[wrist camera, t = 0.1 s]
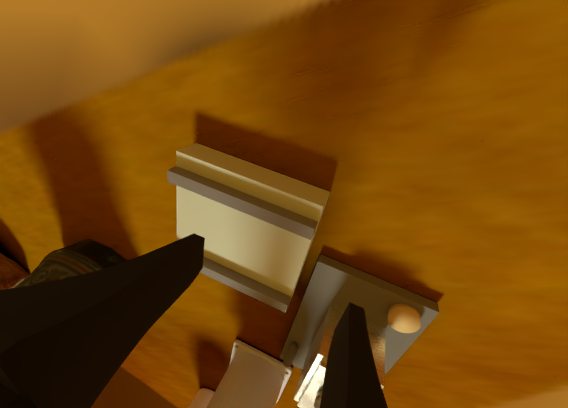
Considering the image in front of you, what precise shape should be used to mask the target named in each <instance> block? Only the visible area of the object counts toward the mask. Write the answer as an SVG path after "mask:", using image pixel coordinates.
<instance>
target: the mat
mask: <svg viewBox="0 0 568 408" xmlns="http://www.w3.org/2000/svg"><path fill="white" fill-rule="evenodd" d="M349 302H350V303H353V304H355V305H357V306H360V307H362V308H364V310H365V315H366V319H367V320H370V321H372V322H374V323H376V324H378V325H381V326H383V327H385V328H386V337H385V374H386V373H387V372H388V371H389V370H390V368H391V367H392V366H393V365H394V364H395V363H396V362H397V360H398V359H399V358H400V357H401V356H402V355H403V354H404V352H405V351H406V350H407V349H408V348H409V347H410V346H411V344H412V343H413V342H414V341H415V340H416V339H417V338H418V336H419V335H420V334H421V333H422V332H423V331H424V330H425V328H426V327H427V326H428V325H429V324H430V323H431V322H432V320H433V319H434V318H435V317H436V316H437V315H438V314H439V308H438V303H437V302H434V301H432V300H430V299H427V298H425V297H422V296H420V295H418V294H415V293H413V292H410V291H408V290H406V289H403V288H401V287H398V286H396V285H394V284H391V283H389V282H386V281H384V280H382V279H379V278H377V277H375V276H372V275H370V274H367V273H365V272H363V271H360V270H358V269H355V268H353V267H351V266H348V265H346V264H343V263H341V262H339V261H336V260H334V259H331V258H329V257H327V256H324V255H322V254H320V256H319V259H318V261H317V264H316V266H315V269H314V271H313V274H312V276H311V279H310V282H309V284H308V287H307V289H306V292H305V294H304V297H303V299H302V302H301V304H300V307H299V309H298V312H297V314H296V317H295V319H294V322H293V324H292V327H291V330H290V332H289V335H288V337H287V340H286V342H285V345H284V347H283V350H282V352H281V355H280V358H281V359H282V360H283V363H284V365H285V366H286V367H289V366H291V364H292V365H294V366H296V367H298V368H300V369H303V366H304V362H305V359H306V356H307V352H308V349H309V347H310V345H311V343H312V341H313V339H314V337H315V335H316V333H317V331H318V329H319V327H320V325H321V323H322V321H323V319H324V317H325V315H326V313H327V311H328V309H329V307H330V305H331V303H332V304H334V305H336V306H339V307H341V308H343V309H345V310H346V308H347V306H348V304H349Z"/></svg>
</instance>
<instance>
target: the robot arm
mask: <svg viewBox="0 0 568 408" xmlns="http://www.w3.org/2000/svg"><path fill="white" fill-rule="evenodd" d="M204 242H205V238H204V237H201V236H199V235H197V234H195V233H194V234H191V235H189V236H186V237H184V238H182V239H180V240H177V241H175V242H173V243H170V244H168V245H166V246H164V247H161V248H159V249H156V250H154V251H152V252H149V253H147V254H144V255H142V256H139V257H136V258H134V259H131V260H128V261H126V262H123V263H120V264H117V265H114V266H111V267H107V268H104V269H101V270H97V271H94V272H90V273H86V274H82V275H78V276H74V277H70V278H66V279H61V280H56V281H52V282H47V283H41V284H36V285H30V286H24V287H17V288H10V289H3V290H0V408H91V406H92V405H93V403H94V402H95V400H96V399H97V398H98V396H99V395H100V393H101V392H102V390H103V389H104V387H105V386H106V385H107V384H108V382H109V381H110V379H111V378H112V377H113V375H114V374H115V372H116V371H117V370H118V368H119V367H120V366H121V364H122V363H123V362H124V360H125V359H126V358H127V356H128V355H129V354H130V352H131V351H132V350H133V349H134V347H135V346H136V345H137V344H138V342H139V341H140V340H141V338H142V337H143V336H144V335H145V333H146V332H147V331H148V330H149V329H150V327H151V326H152V325H153V324H154V323H155V322H156V321H157V320H158V319H159V318H160V317H161V316H162V314H163V313H164V312H165V311H166V310H167V309H168V308H169V307H170V306H171V305H172V304H173V303H174V302H175V301H176V300H177V299H178V298H179V297H180V295H181V294H182V293H183V292H184V291H185V290H186V289H187V288H188V287H189V286H190V285H191V283H192V282H193V281H194V279H195V278H196V277H197V275H198V274H199V272H200V271H201V270H202V268H203V257H204ZM291 373H292V368H291V367H290V366H289V367H286V366H285V365H284V363H283V362H281V361H279V360H277V359H275V358H273V357H271V356H269V355H267V354H265V353H263V352H261V351H259V350H257V349H255V348H253V347H251V346H250V345H248V344H246V343H244V342H242V341H240V340H235V341H234V344H233V349H232V354H231V359H230V364H229V367H228V369H227V371H226V373H225V374H224V376H223V378H222V380H221V382H220V384H219V386H218V387H217V389H216V391H215V393H214V395H213V397H212V398H211V400H210V402H209V404H208V406H207V408H275V405H276V403H277V402H278V400H279V398H280V396H281V394H282V392H283V390H284V387H285V385H286V383H287V381H288V379H289V377H290V375H291ZM320 408H388V407H387V404H386V401H385V397H384V394H383V391H382V388H381V384H380V381H379V377H378V373H377V370H376V366H375V362H374V357H373V353H372V349H371V344H370V339H369V334H368V329H367V323H366V315H365V310H364V308H362V307H360V306H357V305H355V304H353V303H350V302H349V304H348V306H347V308H346V310H345V311H344V313H343V315H342V317H341V319H340V321H339V322H338V324H337V326H336V328H335V330H334V333H333V337H332V341H331V345H330V348H329V352H328V358H327V364H326V370H325V377H324V383H323V390H322V396H321V403H320Z"/></svg>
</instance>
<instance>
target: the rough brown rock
mask: <svg viewBox="0 0 568 408" xmlns="http://www.w3.org/2000/svg"><path fill="white" fill-rule="evenodd" d="M28 276H29V273H28V272H27V271H26V270H25V269H23V268H22V267H21V266H20V265H19V264H17V263H16V262H14V261H13V260H11V259H9V258H7V257H5V256H4V255H3V254H1V253H0V290H3V289H10V288H15V287H16V286H17V285H18V284H20V283H21V282H22V281H23V280H24V279H25V278H26V277H28Z"/></svg>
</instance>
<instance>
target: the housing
mask: <svg viewBox="0 0 568 408" xmlns="http://www.w3.org/2000/svg"><path fill="white" fill-rule="evenodd" d="M344 311H345V309H343V308H341V307H339V306H336V305H334V304H332V303H331V305H330V307H329V309H328V311H327V313H326V315H325V317H324V319H323V321H322V323H321V325H320V327H319V329H318V331H317V333H316V335H315V337H314V339H313V341H312V343H311V345H310V347H309V349H308V352H307V356H306V359H305V362H304V366H303V369H302V373H301V376H300V380H299V383H298V386H297V390H296V393H295V397H294V400H296V401H297V402H298V404H297V406H298V407H300V408H320V403H321V396H322V390H323V383H324V377H325V370H326V364H327V358H328V352H329V348H330V345H331V341H332V337H333V333H334V330H335V328H336V326H337V324H338V322H339V321H340V319H341V317H342V315H343V313H344ZM366 323H367V329H368V334H369V339H370V344H371V349H372V353H373V357H374V362H375V366H376V370H377V373H378V377H379V381H380V384H381V388H382V389H383V387H384V381H385V337H386V328H385V327H383V326H381V325H378V324H376V323H374V322H372V321H370V320H367V319H366Z"/></svg>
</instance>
